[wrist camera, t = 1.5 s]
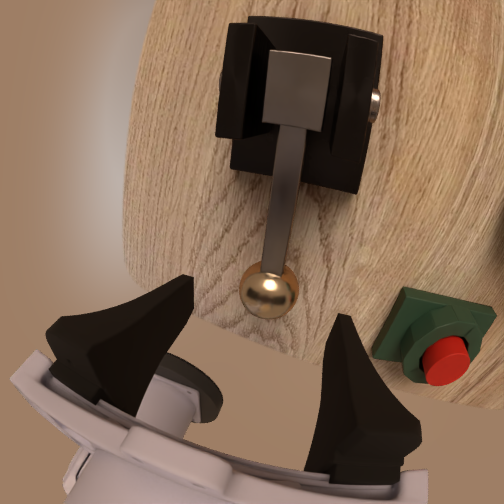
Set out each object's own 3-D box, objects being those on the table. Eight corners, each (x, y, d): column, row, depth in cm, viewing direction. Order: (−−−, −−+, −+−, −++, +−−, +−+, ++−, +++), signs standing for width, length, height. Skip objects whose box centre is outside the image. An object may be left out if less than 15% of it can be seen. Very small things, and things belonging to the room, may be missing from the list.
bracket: (355, 189, 14) (371, 233, 9) (235, 165, 16) (185, 194, 10) (379, 40, 10) (409, -2, 5) (253, 21, 11) (210, -24, 6)
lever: (296, 297, 17) (287, 337, 14) (246, 285, 17) (229, 322, 15) (343, 68, 9) (348, 59, 7) (270, 57, 10) (250, 46, 7)
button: (413, 366, 16) (416, 385, 14) (436, 332, 14) (443, 351, 13) (447, 369, 15) (452, 387, 14) (471, 338, 14) (478, 355, 12)
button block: (370, 348, 19) (372, 378, 17) (403, 283, 16) (413, 312, 14) (455, 360, 18) (463, 386, 15) (492, 305, 15) (507, 329, 12)
